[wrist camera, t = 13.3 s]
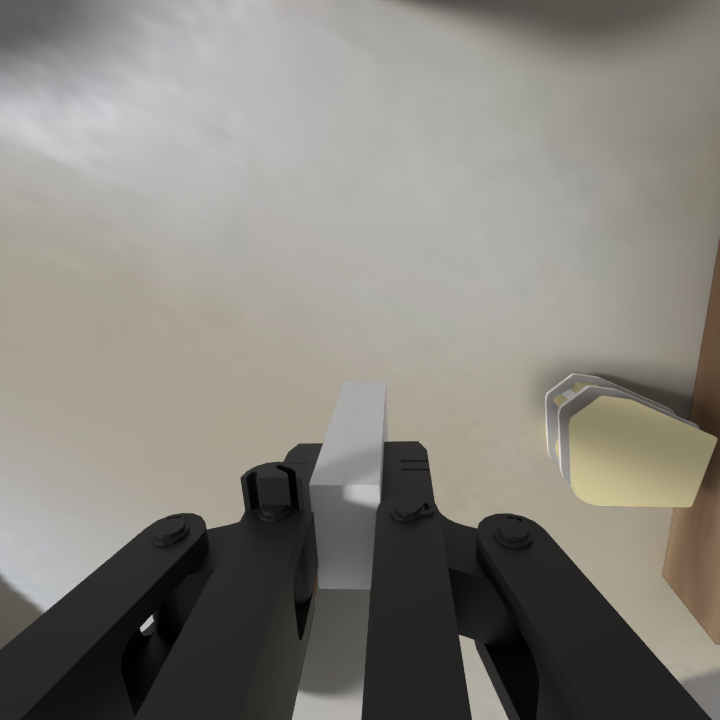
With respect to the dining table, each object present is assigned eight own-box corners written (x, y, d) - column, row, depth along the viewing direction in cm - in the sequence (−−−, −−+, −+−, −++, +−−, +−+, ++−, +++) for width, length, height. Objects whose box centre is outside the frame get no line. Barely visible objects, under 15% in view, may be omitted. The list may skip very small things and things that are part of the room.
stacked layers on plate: (694, 355, 25) (774, 386, 19) (648, 488, 27) (708, 548, 22) (520, 333, 25) (552, 357, 20) (491, 466, 28) (512, 518, 22)
